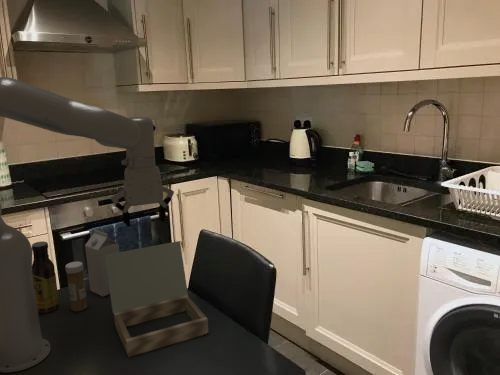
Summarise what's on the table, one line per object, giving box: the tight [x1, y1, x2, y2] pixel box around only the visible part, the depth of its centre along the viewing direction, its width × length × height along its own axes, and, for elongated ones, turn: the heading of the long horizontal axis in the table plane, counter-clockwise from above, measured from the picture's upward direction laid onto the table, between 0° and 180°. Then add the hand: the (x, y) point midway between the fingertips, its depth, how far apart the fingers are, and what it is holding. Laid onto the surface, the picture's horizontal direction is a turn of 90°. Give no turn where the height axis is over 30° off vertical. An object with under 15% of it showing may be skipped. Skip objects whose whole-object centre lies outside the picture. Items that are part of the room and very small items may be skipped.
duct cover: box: [104, 240, 189, 315], centre depth 118 cm, size 20×15×1 cm
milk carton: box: [84, 229, 120, 297], centre depth 134 cm, size 7×7×19 cm
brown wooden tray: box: [113, 294, 209, 358], centre depth 112 cm, size 20×15×4 cm
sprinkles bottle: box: [64, 261, 88, 312], centre depth 124 cm, size 5×5×13 cm
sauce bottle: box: [31, 241, 59, 314], centre depth 123 cm, size 7×6×20 cm
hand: (145, 222), depth 123 cm, fingers open, 9 cm apart
